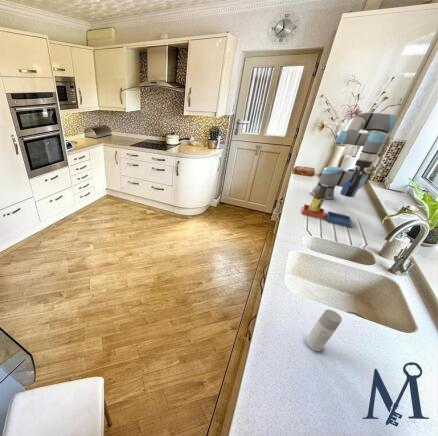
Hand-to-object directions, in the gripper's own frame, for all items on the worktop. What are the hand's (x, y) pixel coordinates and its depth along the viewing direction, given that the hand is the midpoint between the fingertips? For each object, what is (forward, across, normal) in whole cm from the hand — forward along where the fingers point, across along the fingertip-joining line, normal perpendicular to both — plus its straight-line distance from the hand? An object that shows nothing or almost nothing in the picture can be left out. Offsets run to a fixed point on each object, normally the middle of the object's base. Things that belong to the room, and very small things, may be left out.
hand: (347, 194), depth 152 cm
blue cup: (0, 0, 0) cm, 0 cm away
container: (+17, +119, -10) cm, 121 cm away
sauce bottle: (+15, +7, -14) cm, 22 cm away
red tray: (+16, +7, -14) cm, 22 cm away
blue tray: (+16, +9, 0) cm, 18 cm away
